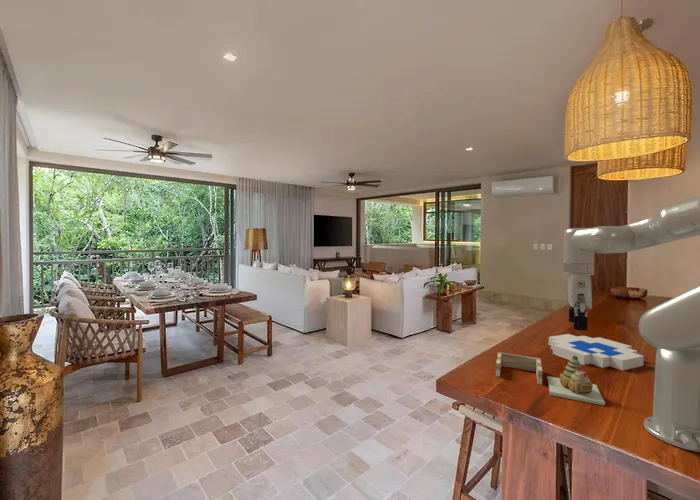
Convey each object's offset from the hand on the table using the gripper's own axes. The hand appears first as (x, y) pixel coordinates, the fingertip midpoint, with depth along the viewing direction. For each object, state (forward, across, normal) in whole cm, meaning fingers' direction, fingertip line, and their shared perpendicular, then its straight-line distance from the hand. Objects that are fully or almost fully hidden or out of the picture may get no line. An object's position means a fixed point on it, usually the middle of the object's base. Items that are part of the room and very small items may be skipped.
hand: (577, 326), depth 98 cm
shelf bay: (+20, +7, +16) cm, 26 cm away
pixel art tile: (+20, +41, -10) cm, 47 cm away
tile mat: (+20, +1, +1) cm, 20 cm away
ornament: (+20, 0, 0) cm, 20 cm away
